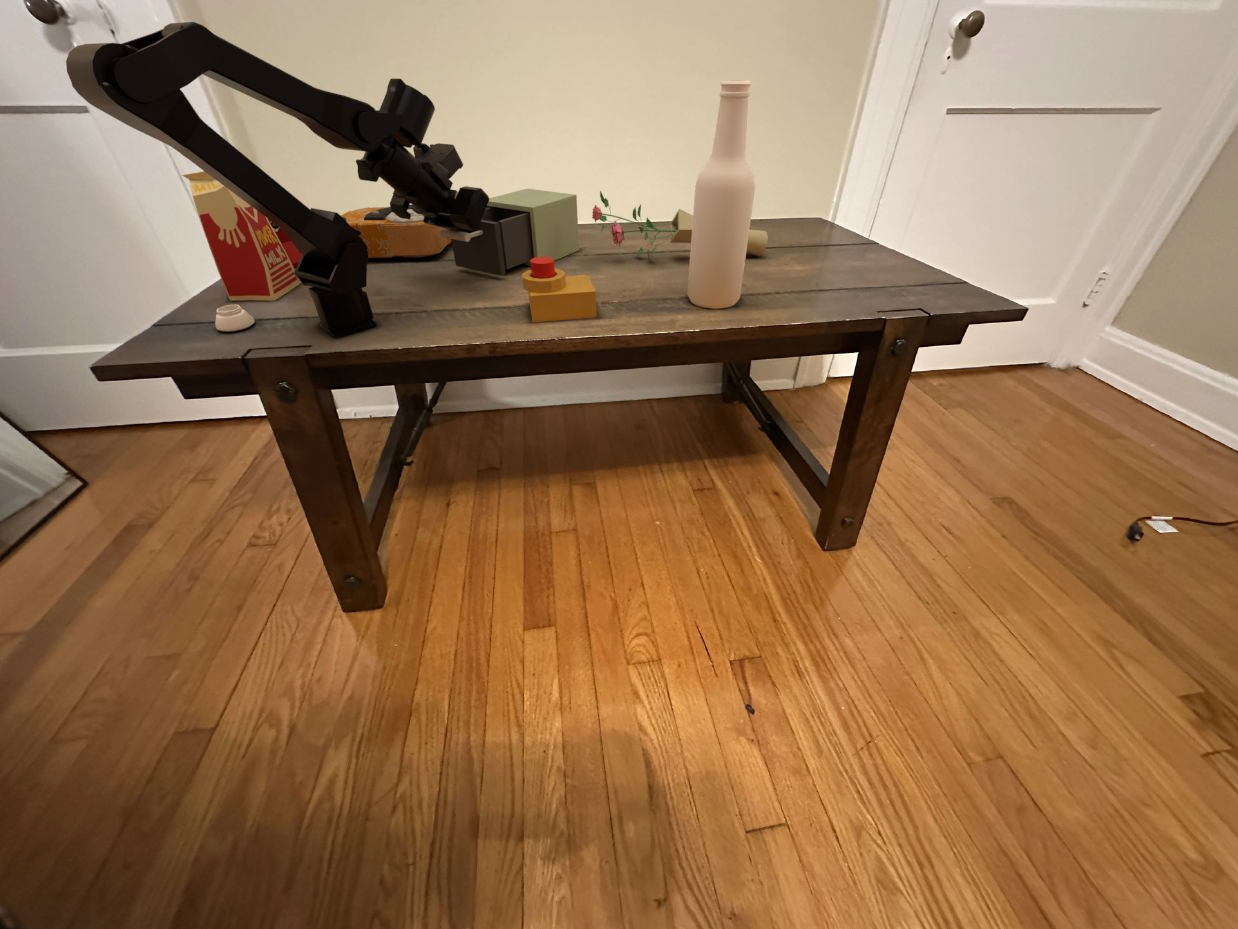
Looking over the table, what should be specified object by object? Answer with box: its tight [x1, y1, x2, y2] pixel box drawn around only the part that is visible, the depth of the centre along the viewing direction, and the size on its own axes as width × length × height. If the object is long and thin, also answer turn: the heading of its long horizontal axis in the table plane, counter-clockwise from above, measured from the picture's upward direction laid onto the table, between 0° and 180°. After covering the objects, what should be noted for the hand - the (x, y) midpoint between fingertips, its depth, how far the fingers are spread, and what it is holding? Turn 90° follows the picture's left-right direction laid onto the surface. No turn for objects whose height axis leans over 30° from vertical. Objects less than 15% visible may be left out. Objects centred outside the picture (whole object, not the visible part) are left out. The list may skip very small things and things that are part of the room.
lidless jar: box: [214, 304, 255, 332], centre depth 80 cm, size 5×3×5 cm
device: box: [340, 204, 452, 259], centre depth 113 cm, size 23×8×30 cm
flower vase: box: [591, 190, 769, 264], centre depth 106 cm, size 12×12×35 cm
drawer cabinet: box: [486, 188, 580, 267], centre depth 108 cm, size 14×13×11 cm
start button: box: [530, 257, 555, 279], centre depth 81 cm, size 4×4×2 cm
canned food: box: [267, 218, 302, 269], centre depth 103 cm, size 8×8×11 cm
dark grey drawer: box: [440, 207, 534, 276], centre depth 99 cm, size 17×12×9 cm
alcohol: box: [686, 79, 756, 310], centre depth 80 cm, size 9×9×30 cm
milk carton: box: [181, 170, 302, 302], centre depth 87 cm, size 9×9×20 cm
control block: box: [521, 268, 598, 323], centre depth 84 cm, size 11×8×6 cm
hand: (470, 232), depth 95 cm, fingers closed, pressing on dark grey drawer
